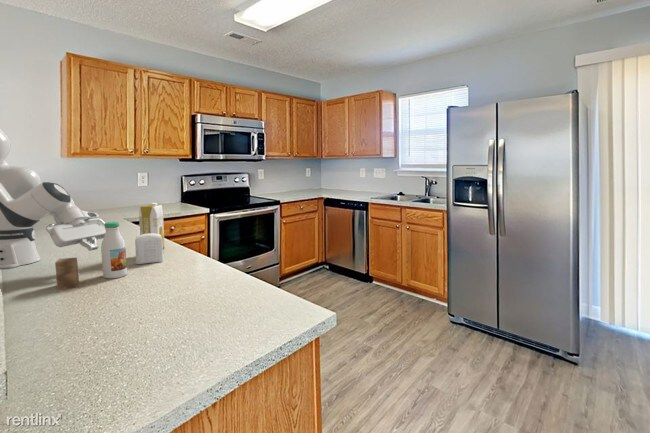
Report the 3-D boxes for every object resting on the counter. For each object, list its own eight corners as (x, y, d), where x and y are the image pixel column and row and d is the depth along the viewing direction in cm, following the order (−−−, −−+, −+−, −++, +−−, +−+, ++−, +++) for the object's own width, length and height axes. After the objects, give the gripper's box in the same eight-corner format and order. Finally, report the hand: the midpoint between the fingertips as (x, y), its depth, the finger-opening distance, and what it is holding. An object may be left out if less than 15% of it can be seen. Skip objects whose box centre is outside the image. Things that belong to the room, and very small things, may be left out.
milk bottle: (102, 280, 125) (98, 224, 122) (104, 274, 131) (100, 221, 128) (127, 277, 128) (123, 223, 125) (127, 271, 135) (124, 220, 132)
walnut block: (57, 289, 115) (55, 262, 114) (61, 284, 120) (59, 258, 118) (75, 287, 117) (73, 261, 116) (79, 282, 122) (77, 257, 120)
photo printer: (162, 259, 152) (161, 231, 150) (164, 261, 149) (162, 233, 147) (135, 262, 147) (133, 233, 145) (136, 265, 143) (135, 235, 141)
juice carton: (157, 258, 153) (154, 204, 150) (139, 258, 153) (135, 203, 150) (166, 253, 163) (164, 202, 159) (149, 252, 163) (147, 201, 159)
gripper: (47, 219, 121) (70, 249, 119) (101, 212, 140) (121, 238, 138) (39, 231, 123) (62, 261, 121) (93, 222, 142) (113, 248, 140)
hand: (94, 249), depth 130 cm, fingers closed
